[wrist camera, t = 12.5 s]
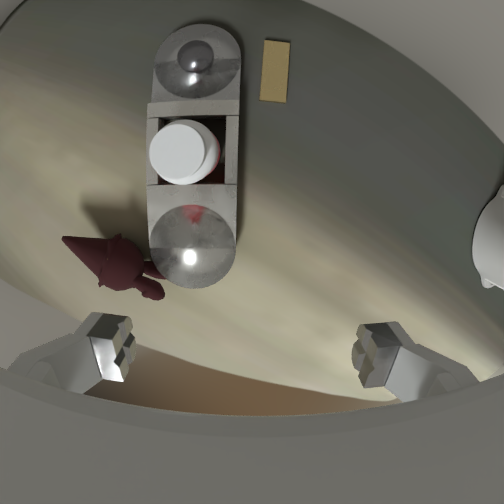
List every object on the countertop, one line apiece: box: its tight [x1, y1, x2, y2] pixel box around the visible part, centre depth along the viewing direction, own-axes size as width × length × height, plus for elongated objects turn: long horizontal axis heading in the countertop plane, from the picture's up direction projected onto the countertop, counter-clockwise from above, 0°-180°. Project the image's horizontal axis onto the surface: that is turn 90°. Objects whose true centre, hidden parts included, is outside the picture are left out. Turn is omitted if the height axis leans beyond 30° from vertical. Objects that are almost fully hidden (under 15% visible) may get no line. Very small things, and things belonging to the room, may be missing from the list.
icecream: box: [62, 233, 166, 300], centre depth 33 cm, size 7×7×15 cm
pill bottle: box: [149, 119, 221, 185], centre depth 27 cm, size 6×6×11 cm
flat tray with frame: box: [146, 24, 241, 289], centre depth 31 cm, size 32×10×3 cm, turn 178°
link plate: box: [259, 40, 290, 104], centre depth 30 cm, size 8×3×1 cm, turn 176°
